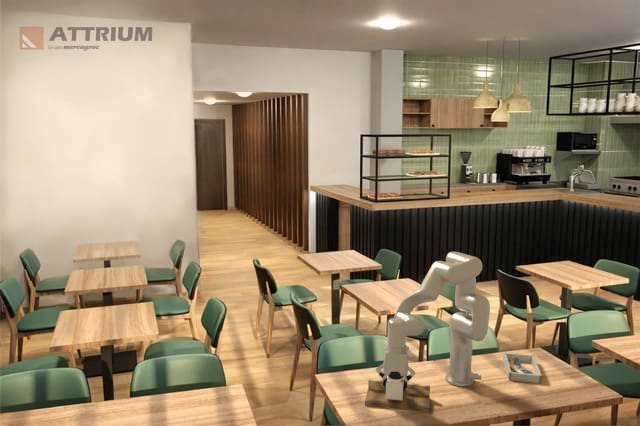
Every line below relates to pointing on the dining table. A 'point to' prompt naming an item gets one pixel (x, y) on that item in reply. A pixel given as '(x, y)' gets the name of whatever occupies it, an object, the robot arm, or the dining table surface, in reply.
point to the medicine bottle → (395, 386)
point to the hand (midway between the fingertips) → (394, 388)
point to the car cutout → (519, 367)
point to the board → (412, 400)
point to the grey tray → (522, 376)
